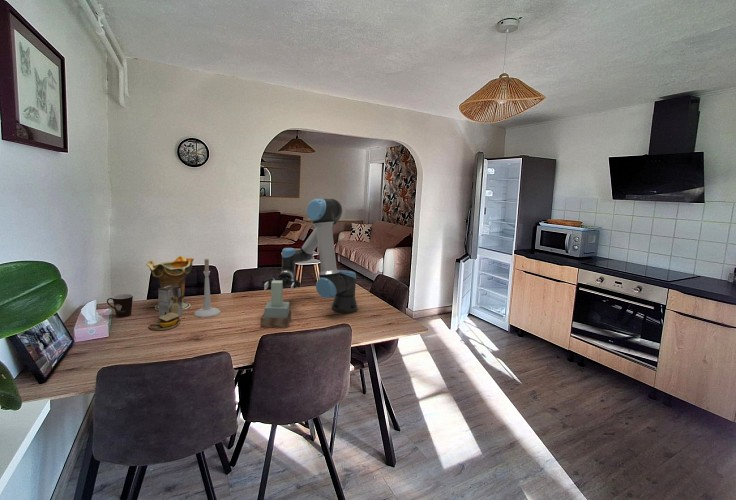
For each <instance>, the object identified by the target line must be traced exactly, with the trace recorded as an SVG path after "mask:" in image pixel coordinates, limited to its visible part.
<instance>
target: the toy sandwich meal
mask: <svg viewBox="0 0 736 500" xmlns="http://www.w3.org/2000/svg"><path fill="white" fill-rule="evenodd" d="M179 322H181V319H180V316H179V315H178V314H176V313H168V314H166V315H163V316H161V317H159V316H158V320H156V321H154V322H151V323H149V324H148V328H149V329H151V330H153V331H167V330H171V329H174V328H176V327H177V326H178V325H179Z"/></svg>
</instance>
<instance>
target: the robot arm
mask: <svg viewBox="0 0 736 500" xmlns="http://www.w3.org/2000/svg"><path fill="white" fill-rule="evenodd" d="M306 214H307V217H308V218H309V220H311V221H312V222H311V223H312V225H313V226H314V229H313V230H312V232H311V233H310V235H309V236H308V237H307V239H306V240H305V242H304V243H303V245H302V246H301V247H300V248H299V249H295V248H293V247H284V248H283V249H282V250H281V272H280V274H279V275H278V277H276V278H274V276H273V277H270V278H267V279H263V280H261V286H263V287H264V288H263V289H264V290H265V291H266V290H267V289H268V288H269V286H270V287H271V282H272V281H273V280H281V281H283V287H287V286H290V291H291V292H292V291H294V289H296V288H300V287H301V282H300V281H299V280H298V279H297V278H296V277H295V276H296V270H295V269H296V267H295V266H296V263H304V262H308V261H312V259H313V257H314V251H315V250H316V249H317V248H318V256H319V263H320V264H319V265H320V272H319V273H318V277H319V278H318V279H317V280H316V283H315V289H316V292H317V293H318V295H320V297H321V298H324V299H332V298H334V299H333V301H332V303H331V310H332V311H333V312H336V313H341V314H351V313H350V312H352V313H355V312H357V311H356V310H358V304H357V299H356V286H357V285H356V283H357V274H356V272H355V271H352V270H346V269H338V268H337V260H336V252H335V251H336V250H335V242H334V235H333V234H334V233H333V226H336V224H337V223H338V222H339V220H340V219H341V217H342V214H343V206H342V204H341V202H340V201H338V200H337V199H335V198H322V197H321V198H313V199H312V200H310V202H309V203H308V205H307V207H306ZM264 290H263V291H264ZM354 311H355V312H354Z"/></svg>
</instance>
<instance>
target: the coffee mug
mask: <svg viewBox="0 0 736 500" xmlns="http://www.w3.org/2000/svg"><path fill="white" fill-rule="evenodd" d="M133 299H134V295H133V294H132V293H121V294H117V295H113V296H112V297H109V298H107V299H106V304H107V305H108V306H109V307H110V308H112V309H114V313H115V317H116V318H121V319H122V318H127V317H130V316H132V310H133V301H134V300H133ZM109 300H111V301H112V302H113V305H111V304H110V303H109Z"/></svg>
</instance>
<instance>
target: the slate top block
mask: <svg viewBox="0 0 736 500" xmlns="http://www.w3.org/2000/svg"><path fill="white" fill-rule="evenodd" d="M290 303H291V302H290V301H283V303H282V306H271V300H270V301H267V303H266V305H265V306H264V311H263V314H264V318H287V317H288V314H289V310H290Z"/></svg>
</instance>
